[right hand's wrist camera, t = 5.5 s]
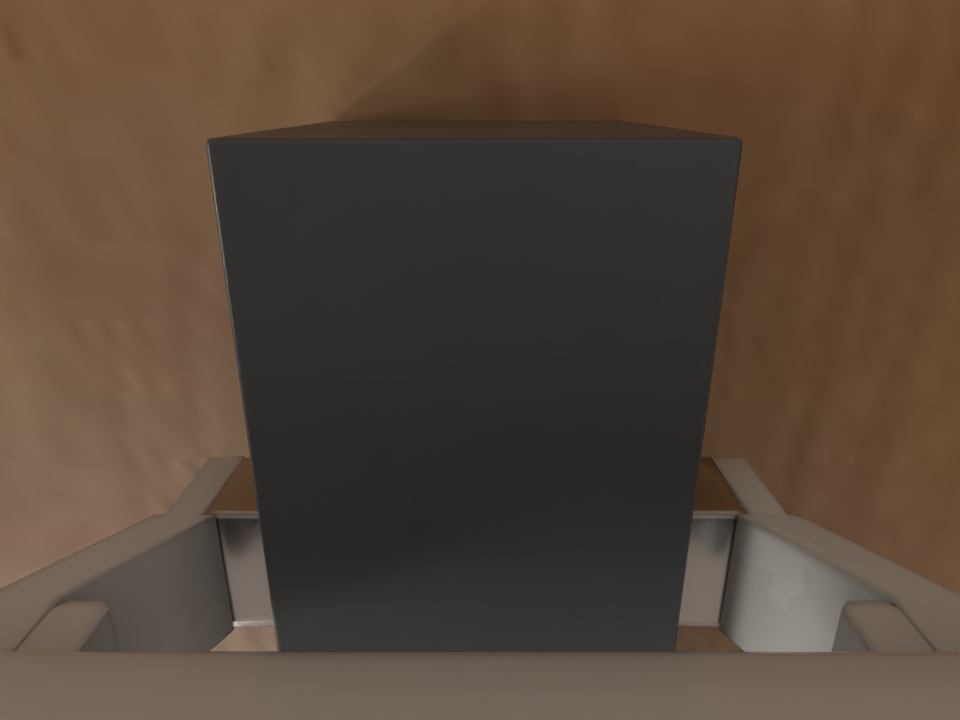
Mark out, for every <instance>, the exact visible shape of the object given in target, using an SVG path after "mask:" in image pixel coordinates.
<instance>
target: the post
mask: <svg viewBox="0 0 960 720" xmlns="http://www.w3.org/2000/svg"><path fill="white" fill-rule="evenodd" d="M742 145H743V144H742V140H741V139H739V138H735V137H728V136H721V135H715V134H708V133H701V132H694V131H687V130H680V129H673V128H667V127H660V126H653V125H646V124H639V123H632V122H625V121H540V122H324V123H317V124H310V125H302V126H295V127H288V128H281V129H274V130H267V131H260V132H253V133H246V134H239V135H232V136H225V137H218V138H211V139H209V140H207V144H206V146H207V153H208V160H209V167H210V174H211V181H212V188H213V195H214V203H215V210H216V217H217V224H218V231H219V238H220V245H221V252H222V259H223V266H224V273H225V280H226V287H227V294H228V302H229V309H230V316H231V323H232V330H233V337H234V344H235V351H236V358H237V365H238V372H239V379H240V386H241V394H242V401H243V408H244V415H245V422H246V429H247V436H248V443H249V450H250V457H251V464H252V471H253V478H254V485H255V493H256V500H257V507H258V514H259V521H260V528H261V535H262V542H263V549H264V556H265V563H266V570H267V577H268V584H269V592H270V599H271V606H272V613H273V620H274V627H275V634H276V641H277V648H278V652H675V646H676V639H677V631H678V624H679V616H680V609H681V601H682V594H683V586H684V579H685V571H686V564H687V556H688V549H689V541H690V534H691V526H692V519H693V511H694V504H695V496H696V489H697V481H698V474H699V466H700V459H701V451H702V444H703V436H704V429H705V422H706V414H707V407H708V399H709V392H710V384H711V377H712V369H713V362H714V354H715V347H716V339H717V332H718V324H719V317H720V309H721V302H722V294H723V287H724V279H725V272H726V264H727V257H728V249H729V242H730V234H731V227H732V220H733V212H734V205H735V197H736V190H737V182H738V175H739V167H740V160H741V152H742Z"/></svg>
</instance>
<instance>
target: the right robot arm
mask: <svg viewBox="0 0 960 720" xmlns="http://www.w3.org/2000/svg"><path fill="white" fill-rule="evenodd" d="M240 626H274V620H273V613H272V606H271V599H270V592H269V584H268V577H267V570H266V563H265V556H264V549H263V542H262V535H261V528H260V521H259V514H258V507H257V500H256V493H255V485H254V478H253V471H252V464H251V457H247V458H245V457H214V458H209V459H208V460H207V461H206V463H205V464H204V465H203V466H202V468H201V469H200V470H199V472H198V473H197V474H196V476H195V477H194V478H193V479H192V481H191V482H190V483H189V485H188V486H187V487H186V489H185V490H184V491H183V492H182V494H181V495H180V496H179V498H178V499H177V500H176V502H175V503H174V504H173V505H172V507H171V508H170V509H169V511H168V512H167V513H166V515H153V516H151V517H149V518H147V519H145V520H143V521H141V522H139V523H137V524H135V525H132V526H130V527H128V528H126V529H124V530H122V531H120V532H118V533H116V534H114V535H112V536H110V537H107V538H105V539H103V540H101V541H99V542H97V543H95V544H93V545H91V546H89V547H87V548H85V549H82V550H80V551H78V552H76V553H74V554H72V555H70V556H68V557H66V558H64V559H62V560H60V561H58V562H55V563H53V564H51V565H49V566H47V567H45V568H43V569H41V570H39V571H37V572H35V573H33V574H30V575H28V576H26V577H24V578H22V579H20V580H18V581H16V582H14V583H12V584H10V585H8V586H5V587H3V588H1V589H0V720H960V593H958V592H956V591H954V590H952V589H949V588H947V587H945V586H943V585H941V584H939V583H937V582H935V581H933V580H931V579H929V578H927V577H925V576H923V575H921V574H919V573H917V572H915V571H912V570H910V569H908V568H906V567H904V566H902V565H900V564H898V563H896V562H894V561H892V560H890V559H888V558H886V557H884V556H882V555H880V554H878V553H875V552H873V551H871V550H869V549H867V548H865V547H863V546H861V545H859V544H857V543H855V542H853V541H851V540H849V539H847V538H845V537H843V536H841V535H839V534H836V533H834V532H832V531H830V530H828V529H826V528H824V527H822V526H820V525H818V524H816V523H814V522H812V521H810V520H808V519H806V518H804V517H802V516H799V515H787V514H786V512H785V511H784V510H783V508H782V507H781V506H780V504H779V503H778V502H777V500H776V499H775V498H774V496H773V495H772V494H771V492H770V491H769V490H768V488H767V487H766V486H765V484H764V483H763V482H762V480H761V479H760V478H759V477H758V475H757V474H756V473H755V471H754V470H753V469H752V467H751V466H750V465H749V463H748V462H747V461H746V459H744V458H742V457H739V456H738V457H715V458H710V457H701V459H700V466H699V474H698V481H697V489H696V496H695V504H694V511H693V519H692V526H691V534H690V541H689V549H688V556H687V564H686V571H685V579H684V586H683V594H682V601H681V609H680V616H679V624H678V626H713V627H720V628H719V630H721V631H722V632H723V633H724V634H725V635H726V636H727V637H728V638H730V639H731V640H732V641H733V642H734V643H735V644H736V645H737V646H739V647H740V648H741V649H742V650H743V651H744V652H209V651H210V650H211V649H213V648H214V647H215V646H216V645H217V644H218V643H219V642H221V641H222V640H223V639H224V638H225V637H226V636H227V635H228V634H230V633H231V632H232V631H233V630H234V627H240Z"/></svg>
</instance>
